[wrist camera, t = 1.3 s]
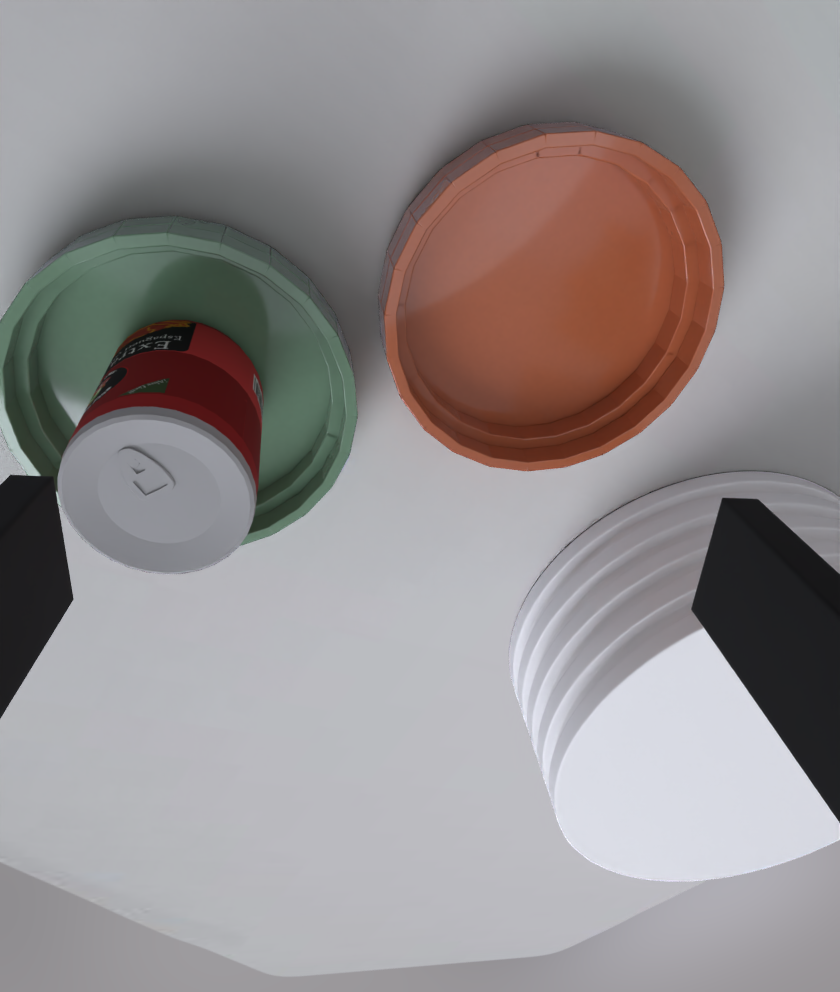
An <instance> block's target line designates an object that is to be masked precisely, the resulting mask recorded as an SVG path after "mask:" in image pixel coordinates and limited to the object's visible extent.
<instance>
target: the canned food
mask: <svg viewBox="0 0 840 992" xmlns="http://www.w3.org/2000/svg"><path fill="white" fill-rule="evenodd" d="M263 401H264V400H263V389H262V385H261V381H260V378H259V375H258V373H257V371H256V369H255V367H254V365H253V363H252V362H251V360H250V359H249V357H248V356H247V355H246V354H245V352H244V351H243V350H242V349H241V347H240V346H239V345H238V344H236V343H235V342H234V341H233V340H232V339H231V338H230V337H228V336H227V335H225V334H224V333H222V332H220V331H219V330H217V329H215V328H213V327H210V326H208V325H205V324H203V323H199V322H194V321H189V320H168V321H162V322H157V323H153V324H151V325H148V326H146V327H143V328H141V329H139V330H137V331H136V332H134V333H133V334H132V335H130V336H129V337H127V339H126V340H125V341H124V342H123V343H122V344H121V345H120V346H119V347H118V349H117V351H116V353H115V355H114V357H113V359H112V361H111V363H110V364H109V366H108V368H107V370H106V372H105V374H104V376H103V378H102V380H101V382H100V383H99V385H98V387H97V389H96V391H95V393H94V395H93V397H92V399H91V400H90V402H89V404H88V406H87V408H86V410H85V412H84V414H83V416H82V417H81V419H80V421H79V423H78V425H77V427H76V429H75V431H74V433H73V435H72V436H71V438H70V440H69V443H68V445H67V447H66V449H65V451H64V453H63V456H62V461H61V464H60V469H59V473H58V477H57V479H58V495H59V499H60V503H61V506H62V510H63V512H64V513H65V515H66V517H67V519H68V521H69V523H70V525H71V526H72V527H73V528H74V530H75V531H76V532H77V533H78V535H79V536H80V537H81V538H82V539H83V540H84V541H85V542H86V543H88V544H89V545H90V546H91V547H92V548H93V549H94V550H96V551H97V552H99V553H101V554H102V555H104V556H105V557H107V558H109V559H110V560H112V561H114V562H117V563H119V564H121V565H124V566H126V567H128V568H132V569H136V570H140V571H144V572H149V573H157V574H183V573H189V572H194V571H199V570H202V569H204V568H207V567H210V566H212V565H215V564H217V563H218V562H220V561H221V560H223V559H225V558H226V557H228V556H229V555H230V554H231V553H232V552H234V551H235V550H236V549H237V548H238V547H239V546H240V544H241V543H242V542H243V540H244V539H245V537H246V536H247V534H248V532H249V529H250V527H251V524H252V522H253V517H254V515H255V509H256V501H257V492H258V483H259V466H260V450H261V434H262V418H263Z"/></svg>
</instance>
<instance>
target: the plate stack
mask: <svg viewBox="0 0 840 992" xmlns="http://www.w3.org/2000/svg"><path fill="white" fill-rule="evenodd" d="M722 498H747V499H758V500H760V501H761V502H762V503H763V504H764V505H765V506H766V507H767V508H768V509H769V510H770V511H772V512H773V513H774V514H775V515H776V516H777V517H778V518H779V519H780V520H781V521H782V522H783V523H785V524H786V525H787V526H788V527H789V528H790V529H791V530H792V531H793V532H794V533H795V534H797V535H798V536H799V537H800V538H801V539H802V540H803V541H804V542H805V543H806V544H807V545H809V546H810V547H811V548H812V549H813V550H814V551H815V552H816V553H817V554H818V555H819V556H821V557H822V558H823V559H824V560H825V561H826V562H827V563H828V564H829V565H830V566H831V567H833V568H834V569H835V570H836V571H837V572H838V573H839V574H840V498H839V497H838V496H837V495H835V494H834V493H832V492H831V491H829V490H828V489H826V488H824V487H822V486H820V485H818V484H816V483H813V482H811V481H808V480H805V479H802V478H799V477H795V476H791V475H786V474H781V473H773V472H761V471H742V472H729V473H720V474H714V475H708V476H703V477H698V478H694V479H690V480H687V481H683V482H680V483H676V484H673V485H670V486H667V487H665V488H662V489H659V490H657V491H654V492H652V493H649V494H647V495H645V496H643V497H640V498H638V499H636V500H634V501H632V502H630V503H628V504H627V505H625V506H623V507H621V508H619V509H618V510H616V511H614V512H612V513H611V514H609V515H608V516H606V517H604V518H603V519H602V520H600V521H599V522H597V523H596V524H594V525H593V526H592V527H590V528H589V529H587V530H586V531H585V532H584V533H582V534H581V535H580V536H579V537H577V538H576V539H575V540H574V541H573V542H572V543H571V544H569V545H568V546H567V547H566V548H565V549H564V550H563V551H562V552H561V553H560V554H559V555H558V556H557V557H556V558H555V559H554V560H553V562H552V563H551V564H550V565H549V566H548V567H547V569H546V570H545V571H544V572H543V573H542V575H541V576H540V577H539V579H538V580H537V582H536V583H535V584H534V586H533V588H532V589H531V591H530V592H529V594H528V596H527V597H526V599H525V601H524V603H523V605H522V607H521V609H520V612H519V614H518V616H517V619H516V622H515V625H514V628H513V632H512V636H511V641H510V648H509V669H510V676H511V680H512V684H513V687H514V690H515V693H516V696H517V699H518V702H519V704H520V708H521V711H522V715H523V718H524V721H525V724H526V727H527V729H528V732H529V735H530V739H531V742H532V745H533V748H534V751H535V754H536V757H537V760H538V762H539V765H540V769H541V773H542V776H543V779H544V782H545V785H546V788H547V790H548V793H549V795H550V799H551V803H552V806H553V809H554V812H555V816H556V819H557V822H558V824H559V827H560V829H561V831H562V833H563V834H564V836H565V838H566V839H567V840H568V842H569V843H570V844H571V845H572V846H573V848H574V849H575V850H576V851H578V852H579V853H580V854H581V855H582V856H584V857H585V858H586V859H588V860H589V861H591V862H593V863H594V864H596V865H598V866H600V867H602V868H604V869H607V870H609V871H612V872H615V873H618V874H621V875H625V876H629V877H633V878H639V879H645V880H653V881H670V882H683V881H701V880H710V879H718V878H725V877H731V876H735V875H741V874H745V873H750V872H754V871H758V870H762V869H765V868H768V867H772V866H775V865H779V864H782V863H785V862H788V861H791V860H794V859H796V858H799V857H802V856H804V855H807V854H809V853H812V852H814V851H816V850H819V849H821V848H824V847H826V846H828V845H830V844H832V843H834V842H836V841H839V840H840V823H839V821H838V820H837V818H836V817H835V816H834V814H833V813H832V811H831V810H830V808H829V807H828V805H827V804H826V803H825V801H824V800H823V798H822V797H821V795H820V794H819V793H818V791H817V790H816V788H815V787H814V785H813V784H812V782H811V781H810V780H809V778H808V777H807V775H806V774H805V772H804V771H803V770H802V768H801V767H800V765H799V764H798V762H797V761H796V759H795V758H794V757H793V755H792V754H791V752H790V751H789V749H788V748H787V747H786V745H785V744H784V742H783V741H782V739H781V738H780V737H779V735H778V734H777V732H776V731H775V729H774V728H773V726H772V725H771V724H770V722H769V721H768V719H767V718H766V716H765V715H764V714H763V712H762V711H761V709H760V708H759V706H758V705H757V703H756V702H755V701H754V699H753V698H752V696H751V695H750V693H749V692H748V691H747V689H746V688H745V686H744V685H743V683H742V682H741V680H740V679H739V678H738V676H737V675H736V673H735V672H734V670H733V669H732V668H731V666H730V665H729V663H728V662H727V660H726V659H725V658H724V656H723V655H722V653H721V652H720V650H719V649H718V647H717V646H716V645H715V643H714V642H713V640H712V639H711V637H710V636H709V635H708V633H707V632H706V630H705V629H704V627H703V626H702V624H701V623H700V622H699V620H698V619H697V617H696V616H695V614H694V613H693V612H692V610H691V607H692V604H693V600H694V597H695V593H696V590H697V586H698V582H699V579H700V575H701V572H702V568H703V565H704V561H705V557H706V554H707V550H708V547H709V543H710V540H711V536H712V532H713V529H714V525H715V522H716V518H717V514H718V511H719V507H720V504H721V500H722Z"/></svg>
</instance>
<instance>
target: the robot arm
mask: <svg viewBox="0 0 840 992" xmlns="http://www.w3.org/2000/svg"><path fill="white" fill-rule="evenodd" d="M72 601H73V594H72V587H71V581H70V575H69V569H68V563H67V557H66V551H65V545H64V538H63V532H62V526H61V520H60V514H59V508H58V502H57V496H56V490H55V483H54V477H53V476H23V475H10V476H9V477H8V478H7V479H6V480H5V481H4V482H3V483H2V484H1V485H0V718H1V717H2V715H3V713H4V712H5V710H6V708H7V707H8V705H9V703H10V702H11V700H12V699H13V697H14V695H15V694H16V692H17V690H18V689H19V687H20V686H21V684H22V682H23V681H24V679H25V677H26V676H27V674H28V673H29V671H30V669H31V668H32V666H33V664H34V663H35V661H36V659H37V658H38V656H39V655H40V653H41V651H42V650H43V648H44V646H45V645H46V643H47V642H48V640H49V638H50V637H51V635H52V633H53V632H54V630H55V629H56V627H57V625H58V624H59V622H60V620H61V619H62V617H63V616H64V614H65V612H66V611H67V609H68V607H69V606H70V604H71V602H72ZM691 610H692V612H693V613H694V614H695V616H696V617H697V619H698V620H699V622H700V623H701V624H702V626H703V627H704V629H705V630H706V632H707V633H708V635H709V636H710V637H711V639H712V640H713V642H714V643H715V645H716V646H717V647H718V649H719V650H720V652H721V653H722V655H723V656H724V658H725V659H726V660H727V662H728V663H729V665H730V666H731V668H732V669H733V670H734V672H735V673H736V675H737V676H738V678H739V679H740V680H741V682H742V683H743V685H744V686H745V688H746V689H747V691H748V692H749V693H750V695H751V696H752V698H753V699H754V701H755V702H756V703H757V705H758V706H759V708H760V709H761V711H762V712H763V714H764V715H765V716H766V718H767V719H768V721H769V722H770V724H771V725H772V726H773V728H774V729H775V731H776V732H777V734H778V735H779V737H780V738H781V739H782V741H783V742H784V744H785V745H786V747H787V748H788V749H789V751H790V752H791V754H792V755H793V757H794V758H795V759H796V761H797V762H798V764H799V765H800V767H801V768H802V770H803V771H804V772H805V774H806V775H807V777H808V778H809V780H810V781H811V782H812V784H813V785H814V787H815V788H816V790H817V791H818V793H819V794H820V795H821V797H822V798H823V800H824V801H825V803H826V804H827V805H828V807H829V808H830V810H831V811H832V813H833V814H834V816H835V817H836V818H837V820H838V821H839V823H840V574H839V573H838V572H837V571H836V570H835V569H834V568H833V567H831V566H830V565H829V564H828V563H827V562H826V561H825V560H824V559H823V558H822V557H821V556H819V555H818V554H817V553H816V552H815V551H814V550H813V549H812V548H811V547H810V546H809V545H807V544H806V543H805V542H804V541H803V540H802V539H801V538H800V537H799V536H798V535H797V534H795V533H794V532H793V531H792V530H791V529H790V528H789V527H788V526H787V525H786V524H785V523H783V522H782V521H781V520H780V519H779V518H778V517H777V516H776V515H775V514H774V513H773V512H772V511H770V510H769V509H768V508H767V507H766V506H765V505H764V504H763V503H762V502H761V501H760V500H758V499H747V498H722V500H721V504H720V507H719V511H718V514H717V518H716V522H715V525H714V529H713V532H712V536H711V540H710V543H709V547H708V550H707V554H706V557H705V561H704V565H703V568H702V572H701V575H700V579H699V582H698V586H697V590H696V593H695V597H694V600H693V604H692V607H691Z"/></svg>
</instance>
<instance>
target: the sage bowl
mask: <svg viewBox="0 0 840 992" xmlns="http://www.w3.org/2000/svg"><path fill="white" fill-rule="evenodd" d="M168 320H189V321H194V322H199V323H203V324H205V325H208V326H210V327H213V328H215V329H217V330H219V331H220V332H222V333H224V334H225V335H227V336H228V337H230V338H231V339H232V340H233V341H234V342H235V343H236V344H238V345H239V346H240V347H241V349H242V350H243V351H244V352H245V354H246V355H247V356H248V357H249V359H250V360H251V362H252V363H253V365H254V367H255V369H256V371H257V373H258V375H259V378H260V381H261V385H262V389H263V400H264V401H263V418H262V434H261V450H260V466H259V483H258V492H257V501H256V509H255V515H254V517H253V522H252V524H251V527H250V529H249V532H248V534H247V536H246V537H245V539H244V540H243V542H242V543H241V544H240V546H241V545H244V544H247V543H250V542H253V541H256V540H259V539H262V538H265V537H268V536H271V535H273V534H275V533H277V532H278V531H280V530H282V529H283V528H285V527H286V526H288V525H290V524H291V523H293V522H294V521H296V520H298V519H299V518H301V517H303V516H304V515H305V514H307V513H308V512H309V511H310V510H311V509H312V508H313V507H314V506H315V505H316V503H317V502H318V501H319V500H320V499H321V498H322V497H323V496H324V495H325V494H326V493H327V492H328V491H329V490H330V489H331V488H332V486H333V485H334V483H335V481H336V479H337V477H338V476H339V474H340V472H341V470H342V468H343V466H344V464H345V462H346V461H347V459H348V457H349V455H350V452H351V447H352V442H353V437H354V432H355V427H356V422H357V416H358V412H357V401H356V390H355V379H354V372H353V366H352V360H351V354H350V350H349V348H348V345H347V343H346V340H345V337H344V335H343V332H342V330H341V327H340V325H339V322H338V319H337V317H336V314H335V313H334V311H333V310H332V308H331V307H330V306H329V304H328V303H327V302H326V300H325V299H324V298H323V296H322V295H321V293H320V292H319V291H318V289H317V288H316V287H315V285H314V284H313V283H312V281H311V280H310V278H308V277H307V276H306V275H305V274H304V273H303V272H301V271H300V270H299V269H298V268H297V267H295V266H294V265H293V264H292V263H290V262H289V261H288V260H287V259H286V258H284V257H283V256H282V255H281V254H279V253H278V252H277V251H276V250H275V249H273V248H271V247H270V246H268V245H266V244H264V243H262V242H260V241H258V240H255V239H253V238H251V237H249V236H247V235H245V234H243V233H241V232H238V231H236V230H234V229H232V228H230V227H226V226H225V225H221V224H216V223H211V222H206V221H201V220H196V219H190V218H185V217H180V216H167V217H152V218H137V219H127V220H122V221H120V222H117V223H114V224H111V225H109V226H106V227H103V228H100V229H98V230H95V231H92V232H89V233H86V234H84V235H82V236H79V237H78V238H77V239H76V240H74V241H73V242H72V243H70V244H69V245H68V246H66V247H65V248H64V249H62V250H61V251H60V252H59V253H57V254H56V255H55V256H53V257H52V258H51V259H49V260H48V261H47V262H46V263H44V265H43V266H42V267H41V268H40V269H39V270H38V271H37V272H36V273H35V274H34V275H33V276H32V277H31V278H30V279H29V280H28V281H27V282H26V283H25V284H24V286H23V287H22V289H21V290H20V292H19V293H18V295H17V296H16V298H15V299H14V301H13V302H12V304H11V305H10V307H9V308H8V310H7V311H6V313H5V314H4V316H3V317H2V319H1V321H0V428H1V431H2V433H3V436H4V438H5V441H6V443H7V446H8V448H9V450H10V452H11V453H12V455H13V456H14V457H15V459H16V460H17V461H18V463H19V464H20V465H21V467H22V468H23V469H24V471H25V472H26V473H27V475H28V476H53V477H54V483H55V490H56V496H57V502H58V505H59V506H61V503H60V499H59V495H58V479H57V477H58V473H59V469H60V464H61V461H62V456H63V453H64V451H65V449H66V447H67V445H68V443H69V440H70V438H71V436H72V435H73V433H74V431H75V429H76V427H77V425H78V423H79V421H80V419H81V417H82V416H83V414H84V412H85V410H86V408H87V406H88V404H89V402H90V400H91V399H92V397H93V395H94V393H95V391H96V389H97V387H98V385H99V383H100V382H101V380H102V378H103V376H104V374H105V372H106V370H107V368H108V366H109V364H110V363H111V361H112V359H113V357H114V355H115V353H116V351H117V349H118V347H119V346H120V345H121V344H122V343H123V342H124V341H125V340H126V339H127V337H129V336H130V335H132V334H133V333H134V332H136V331H137V330H139V329H141V328H143V327H146V326H148V325H151V324H153V323H157V322H162V321H168ZM61 507H62V506H61Z"/></svg>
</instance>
